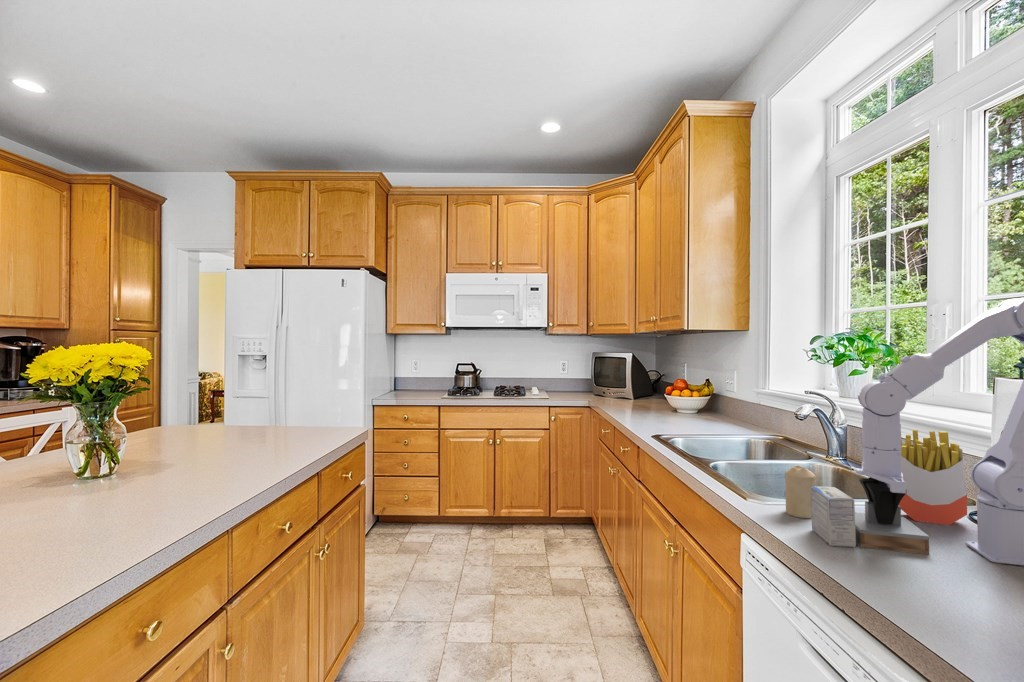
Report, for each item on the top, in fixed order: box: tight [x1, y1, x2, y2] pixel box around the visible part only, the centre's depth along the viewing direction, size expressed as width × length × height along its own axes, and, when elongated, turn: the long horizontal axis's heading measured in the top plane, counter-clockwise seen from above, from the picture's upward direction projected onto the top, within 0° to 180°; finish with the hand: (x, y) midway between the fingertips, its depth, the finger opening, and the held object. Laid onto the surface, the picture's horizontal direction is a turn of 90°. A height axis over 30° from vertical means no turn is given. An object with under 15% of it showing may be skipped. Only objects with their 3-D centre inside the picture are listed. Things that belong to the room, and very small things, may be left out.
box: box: [855, 528, 930, 555], centre depth 90 cm, size 10×10×2 cm
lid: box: [855, 500, 930, 541], centre depth 90 cm, size 10×10×5 cm
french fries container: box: [899, 429, 968, 526], centre depth 100 cm, size 5×11×18 cm, turn 63°
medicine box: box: [811, 485, 857, 548], centre depth 91 cm, size 8×4×9 cm, turn 168°
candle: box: [784, 465, 816, 519], centre depth 104 cm, size 6×6×10 cm
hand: (882, 521), depth 90 cm, fingers closed on lid
